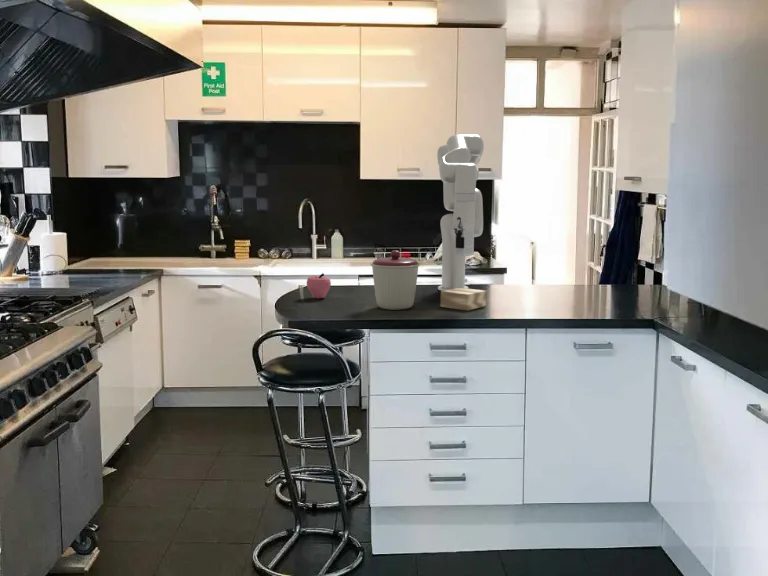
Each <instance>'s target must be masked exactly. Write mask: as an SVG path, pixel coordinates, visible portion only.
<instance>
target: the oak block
mask: <svg viewBox="0 0 768 576" xmlns="http://www.w3.org/2000/svg"><path fill="white" fill-rule="evenodd" d="M440 307H442V308H448V309H455V310H462V311H471V310H474V309H478V308H484V307H487V290H483V289H474V288H469V287H468V288H455V289H450V290H444V291H441V290H440Z"/></svg>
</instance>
